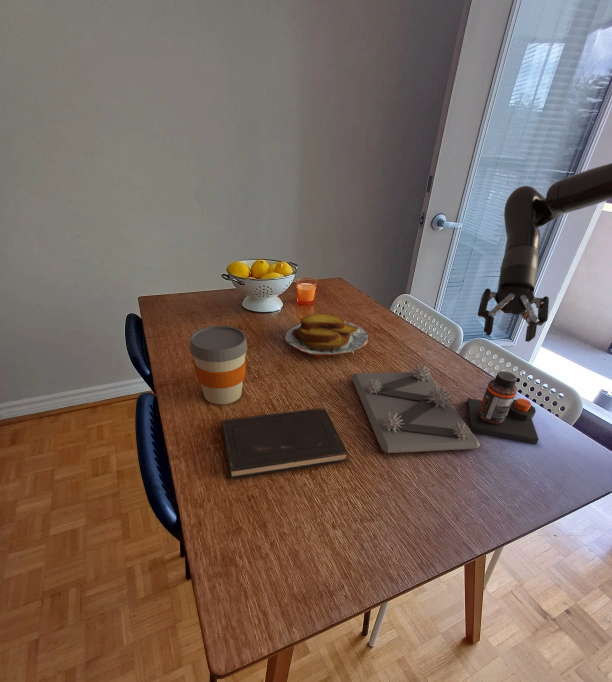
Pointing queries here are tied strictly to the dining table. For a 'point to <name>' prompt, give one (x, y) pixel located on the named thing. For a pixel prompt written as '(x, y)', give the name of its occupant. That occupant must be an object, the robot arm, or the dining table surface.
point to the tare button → (522, 405)
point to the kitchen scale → (504, 423)
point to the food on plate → (326, 335)
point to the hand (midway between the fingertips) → (508, 337)
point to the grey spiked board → (412, 412)
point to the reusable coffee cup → (219, 362)
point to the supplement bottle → (498, 398)
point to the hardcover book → (281, 442)
